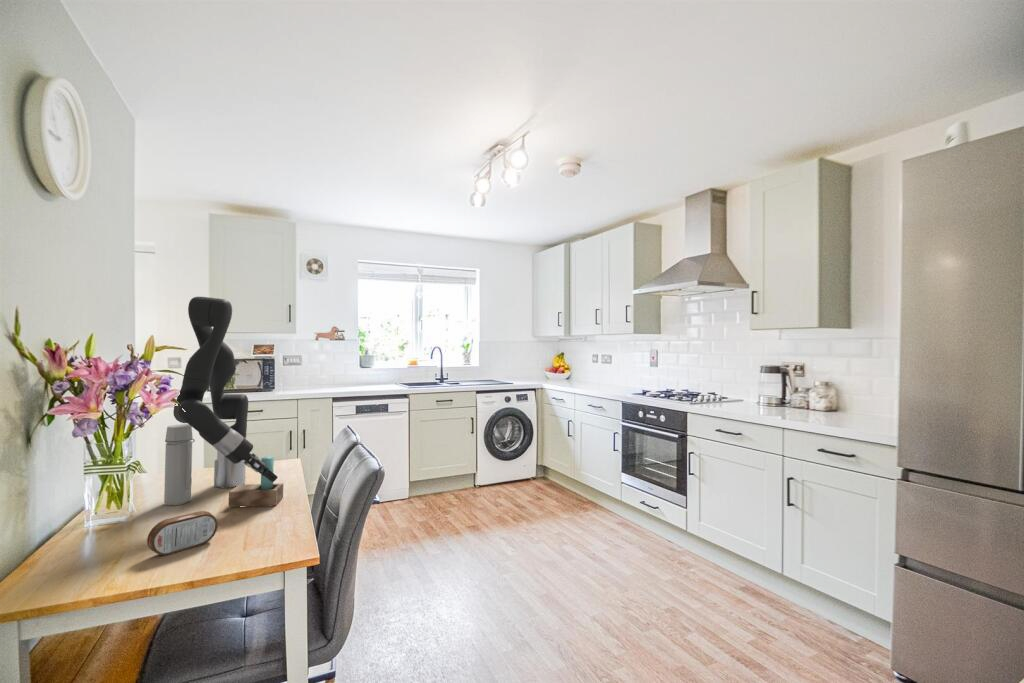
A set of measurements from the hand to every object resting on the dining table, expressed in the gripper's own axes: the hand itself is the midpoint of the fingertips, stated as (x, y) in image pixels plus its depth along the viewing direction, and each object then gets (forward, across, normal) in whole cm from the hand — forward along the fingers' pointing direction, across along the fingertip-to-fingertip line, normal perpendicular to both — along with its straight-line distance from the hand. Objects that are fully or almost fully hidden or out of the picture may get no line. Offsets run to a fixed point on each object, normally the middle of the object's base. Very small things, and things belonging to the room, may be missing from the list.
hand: (273, 478), depth 158 cm
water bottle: (-12, +16, +23) cm, 30 cm away
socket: (+2, +2, +9) cm, 9 cm away
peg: (+2, 0, +5) cm, 5 cm away
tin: (-13, -26, +24) cm, 38 cm away
